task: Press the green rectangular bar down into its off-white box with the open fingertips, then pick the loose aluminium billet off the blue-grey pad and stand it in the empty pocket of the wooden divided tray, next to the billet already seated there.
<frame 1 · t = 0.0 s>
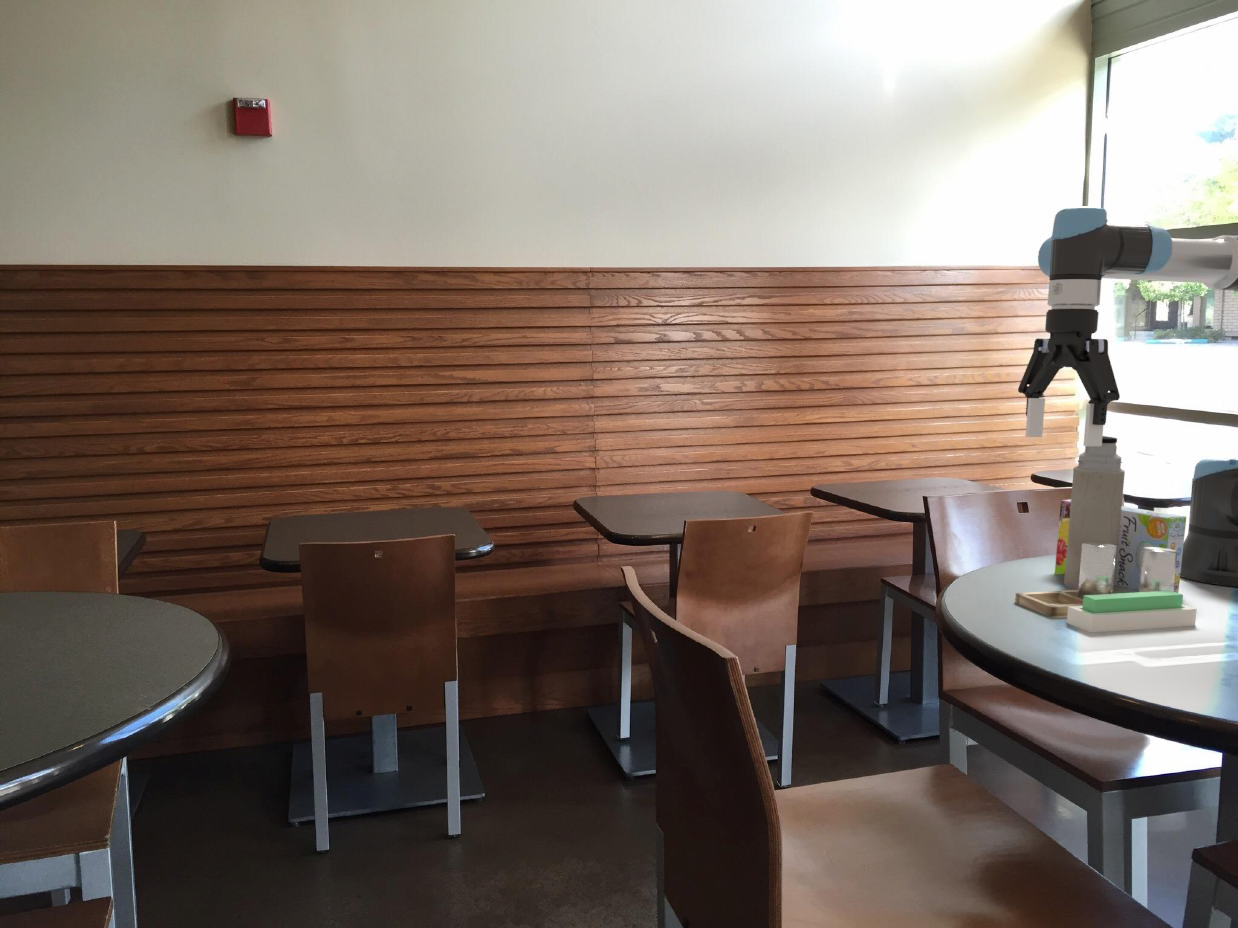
hand: (1061, 441, 156), 28 cm above the table, tool pointing down, fingers open, 13 cm apart
wooden divided tray: (1073, 615, 157), on the table
snack box: (1113, 589, 175), on the table
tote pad: (1153, 616, 157), on the table
green rectangular bar: (1132, 607, 147), point 4 cm above the table, slide at 0.0 cm
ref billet: (1094, 605, 158), point 1 cm above the table, touching wooden divided tray
button housing: (1130, 633, 148), on the table
billet: (1153, 610, 157), point 1 cm above the table, touching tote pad
thermos bottle: (1088, 595, 170), on the table
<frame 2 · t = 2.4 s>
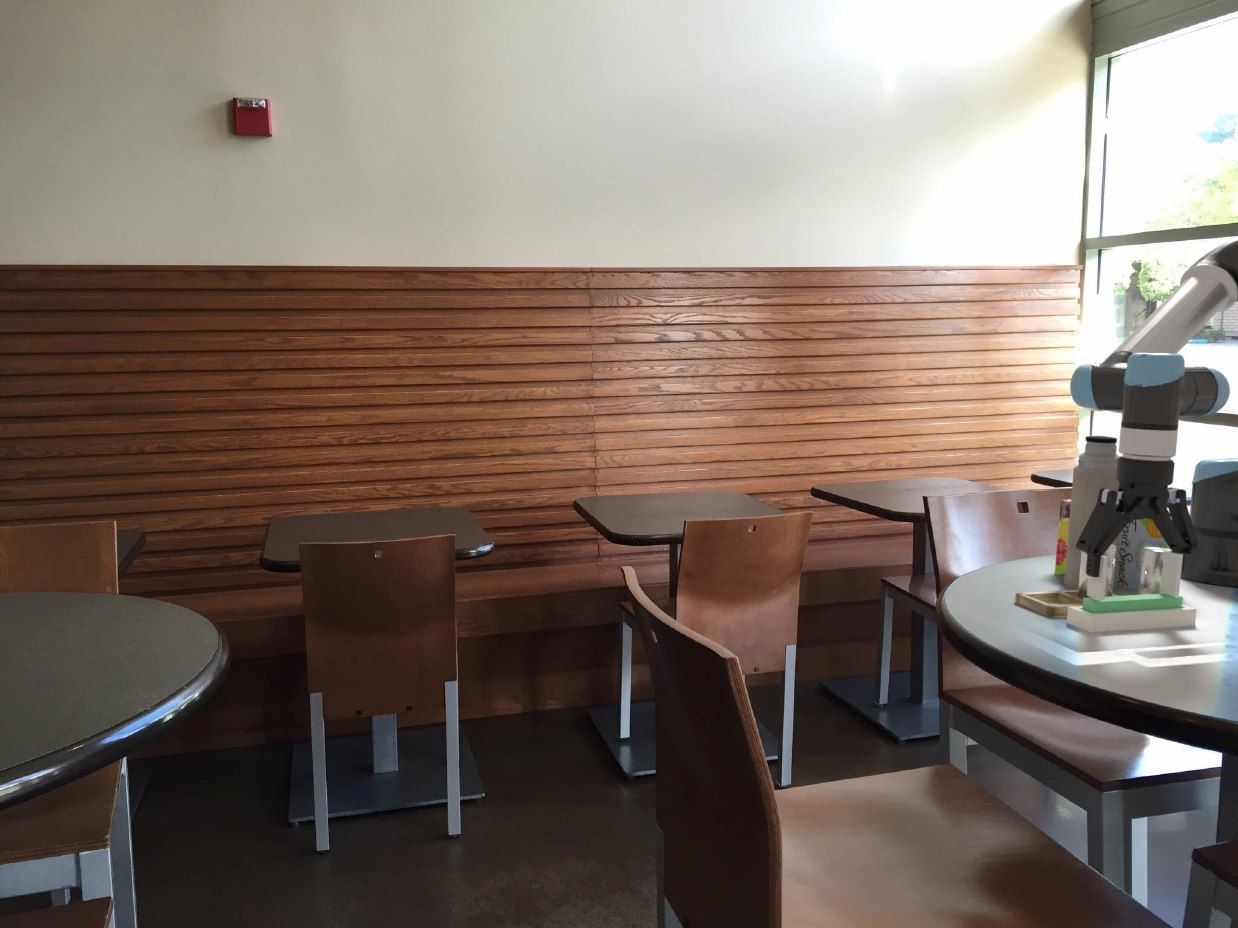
hand: (1132, 596, 147), 6 cm above the table, tool pointing down, fingers open, 13 cm apart
green rectangular bar: (1132, 610, 147), point 4 cm above the table, slide at 0.4 cm, touching gripper
everything else where it was.
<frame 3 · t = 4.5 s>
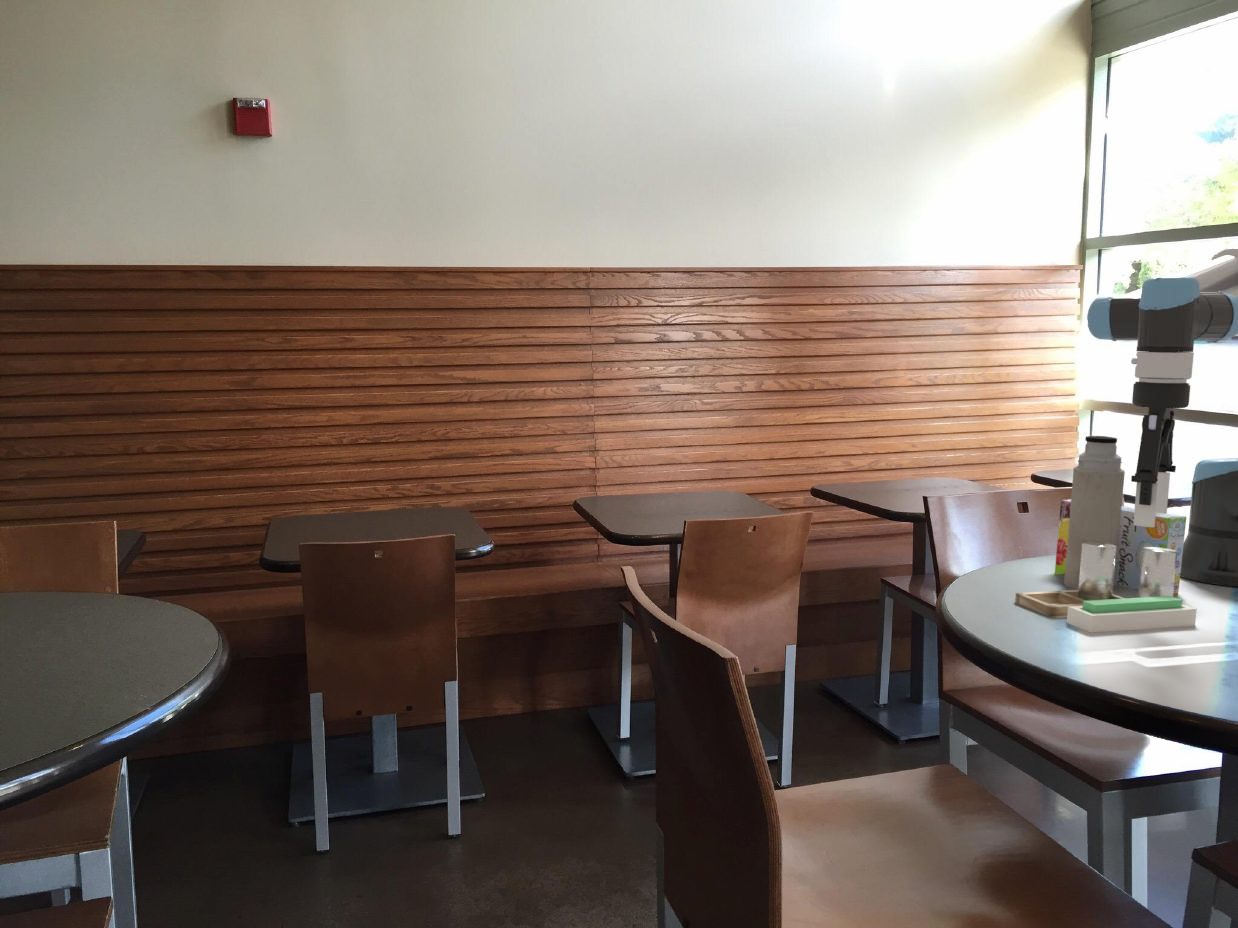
hand: (1150, 519, 149), 17 cm above the table, tool pointing down, fingers open, 13 cm apart
green rectangular bar: (1131, 613, 147), point 3 cm above the table, slide at 0.9 cm
everything else where it was.
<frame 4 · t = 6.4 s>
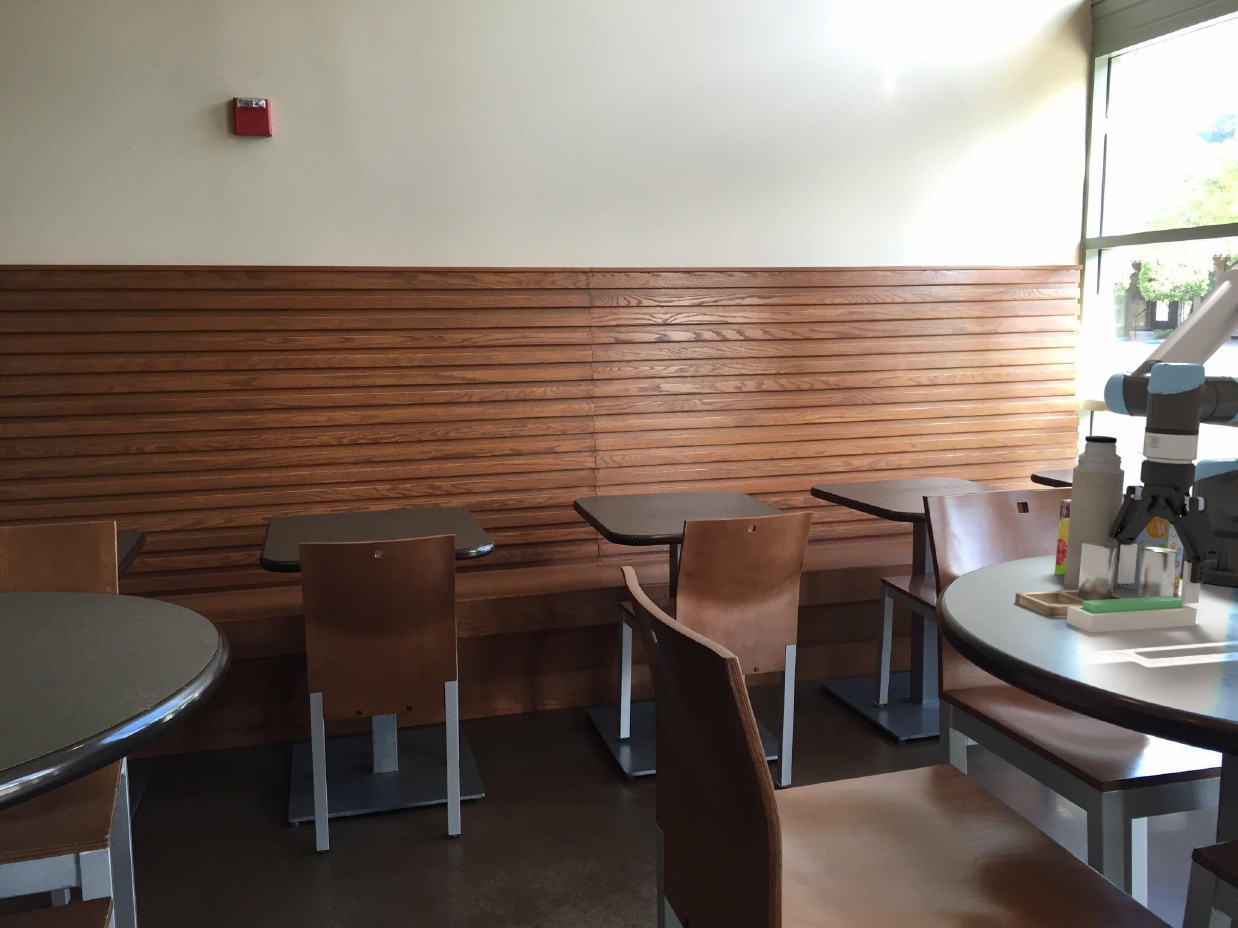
hand: (1156, 592, 156), 4 cm above the table, tool pointing down, fingers open, 12 cm apart
nothing on the table moved.
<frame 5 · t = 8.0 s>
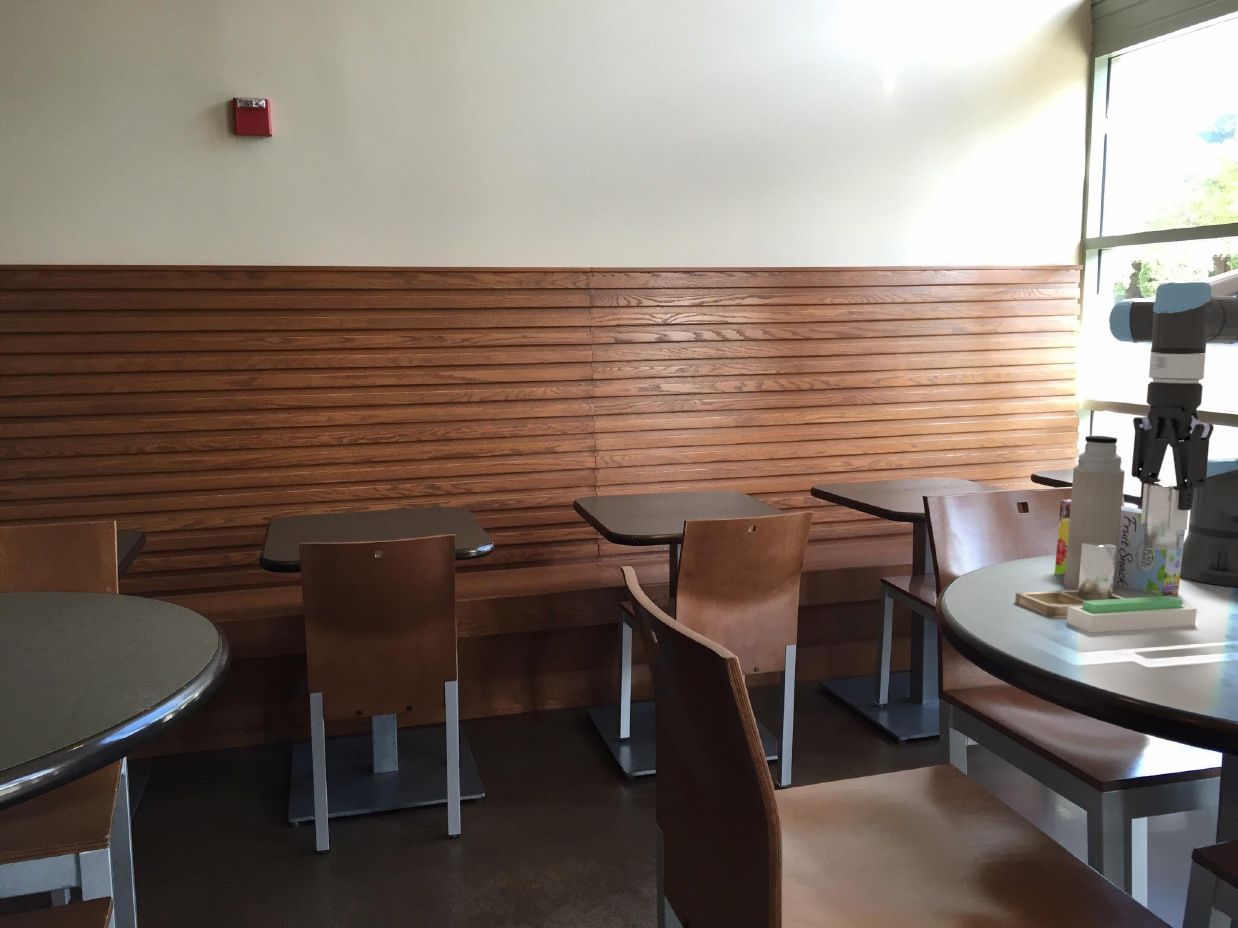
hand: (1163, 526, 155), 15 cm above the table, tool pointing down, fingers closed on billet, 5 cm apart
billet: (1160, 546, 156), point 12 cm above the table, touching gripper
everything else where it was.
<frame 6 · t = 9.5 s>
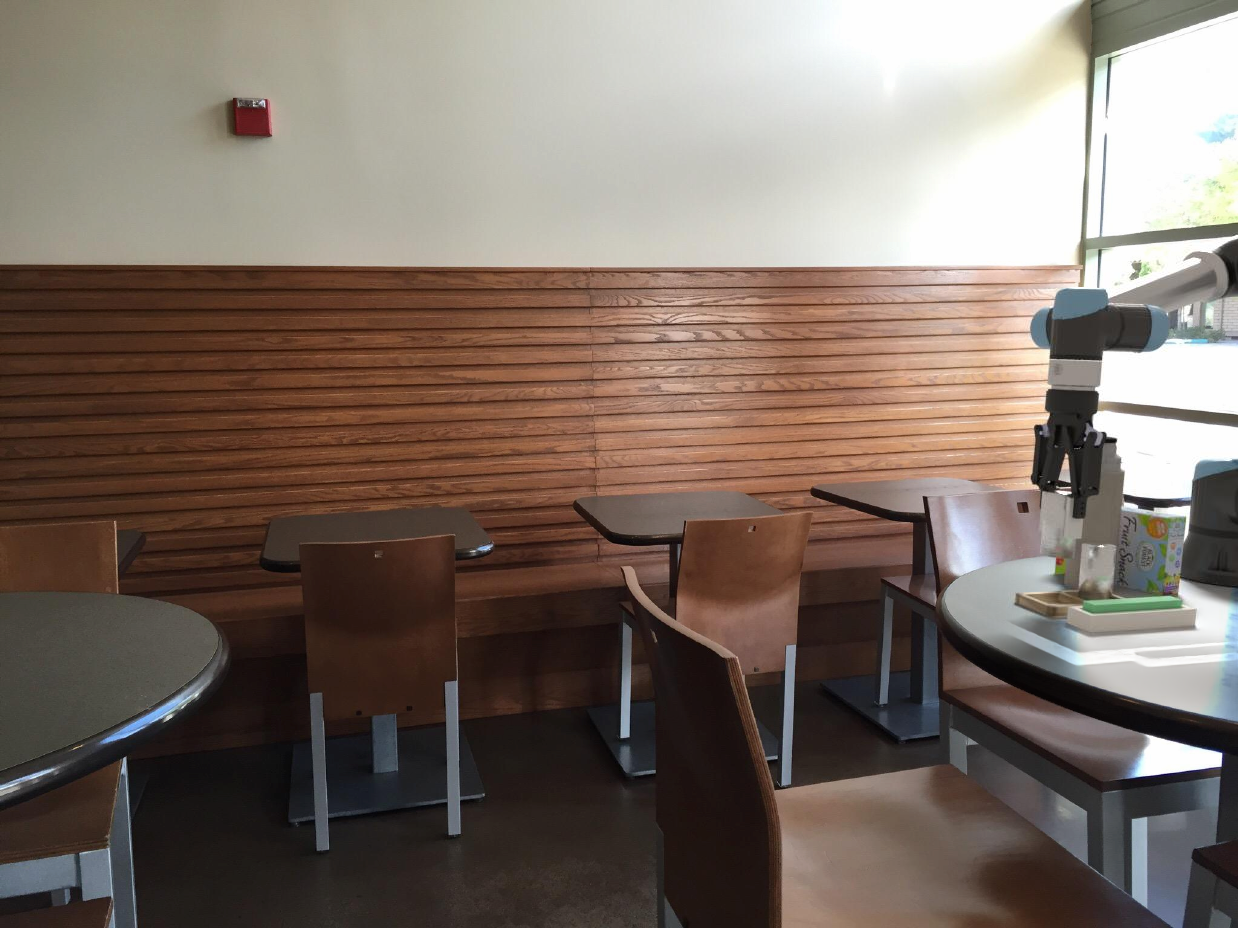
hand: (1059, 534, 154), 14 cm above the table, tool pointing down, fingers closed on billet, 5 cm apart
billet: (1057, 554, 154), point 10 cm above the table, touching gripper
everything else where it was.
when the fingers open (4 cm above the table, at t = 11.3 s): billet stays where it is, resting on wooden divided tray.
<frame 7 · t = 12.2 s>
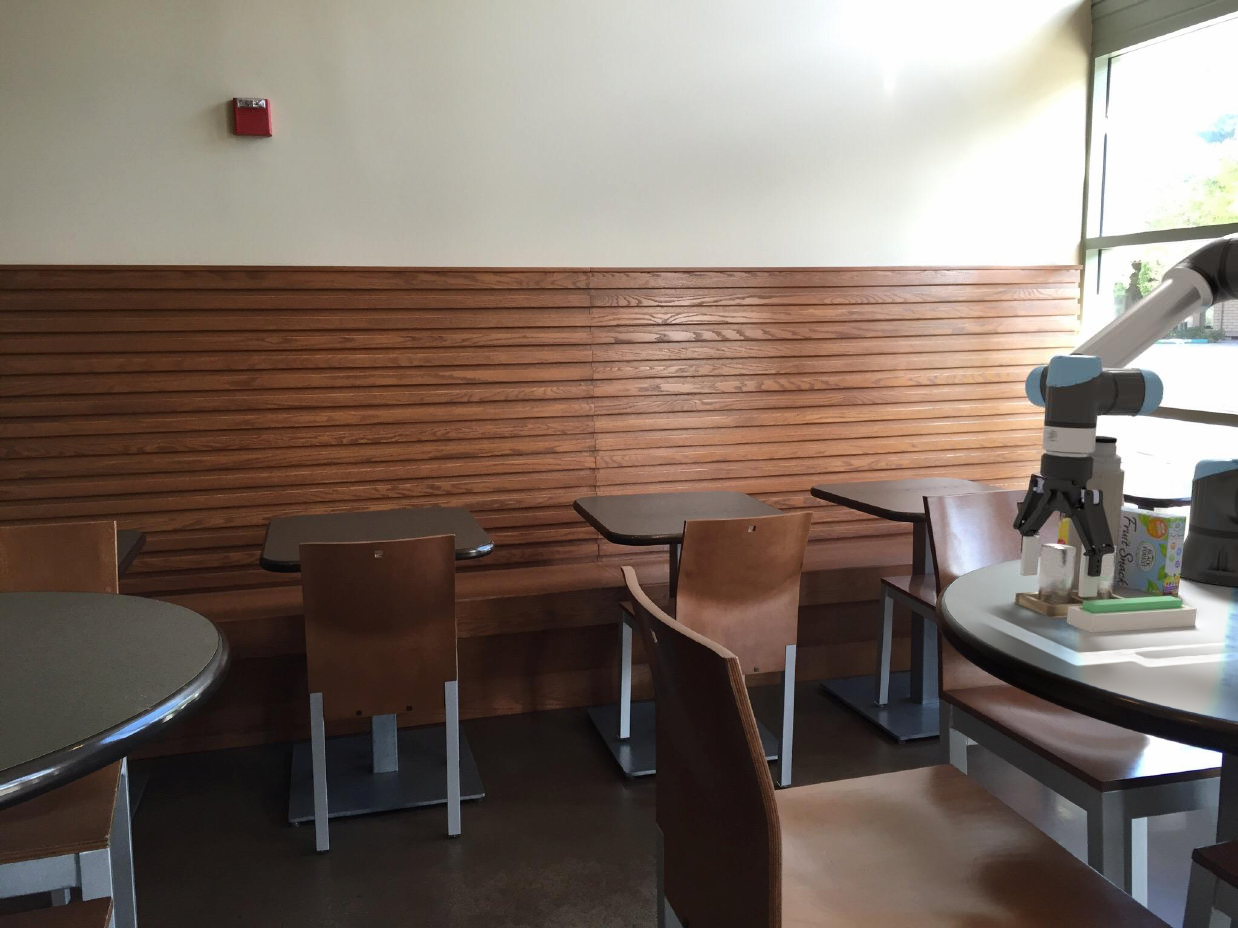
hand: (1056, 585, 155), 5 cm above the table, tool pointing down, fingers open, 13 cm apart
billet: (1053, 607, 155), point 1 cm above the table, touching wooden divided tray
everything else where it was.
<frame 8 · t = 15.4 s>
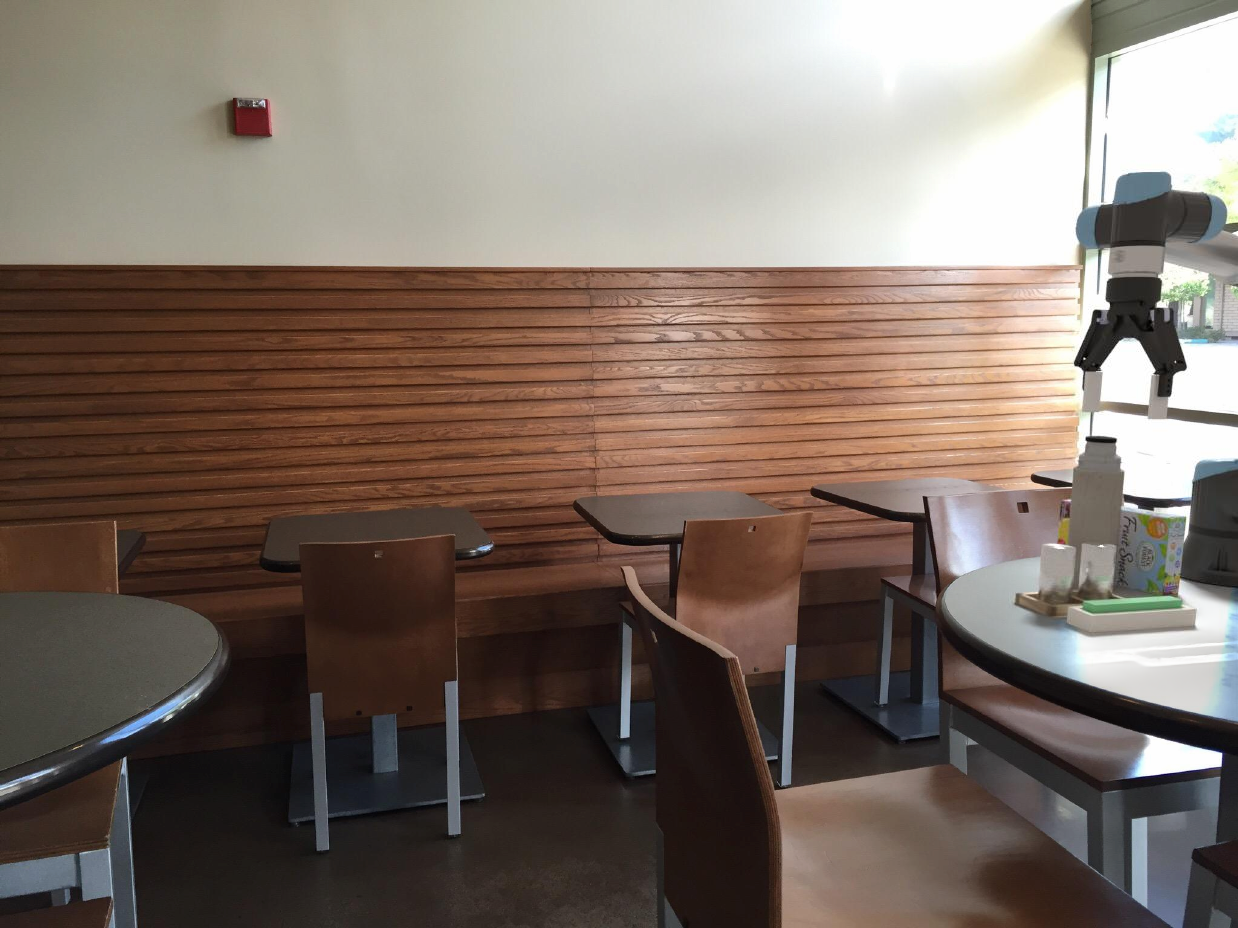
hand: (1122, 415, 151), 33 cm above the table, tool pointing down, fingers open, 13 cm apart
nothing on the table moved.
at the end: billet 0.2 cm from the target spot on the wooden divided tray, point 1.5 cm above the wooden divided tray's base; billet tilted 0°; green rectangular bar slide at 0.9 cm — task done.
